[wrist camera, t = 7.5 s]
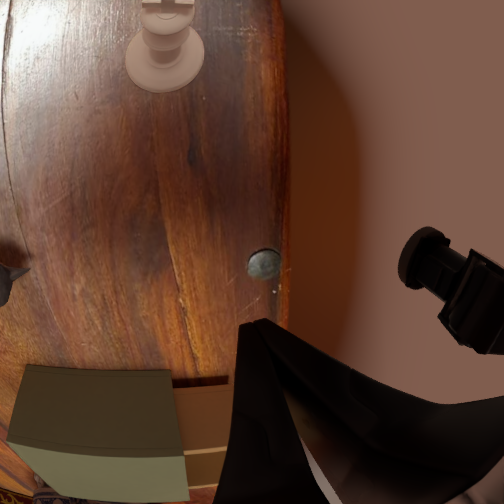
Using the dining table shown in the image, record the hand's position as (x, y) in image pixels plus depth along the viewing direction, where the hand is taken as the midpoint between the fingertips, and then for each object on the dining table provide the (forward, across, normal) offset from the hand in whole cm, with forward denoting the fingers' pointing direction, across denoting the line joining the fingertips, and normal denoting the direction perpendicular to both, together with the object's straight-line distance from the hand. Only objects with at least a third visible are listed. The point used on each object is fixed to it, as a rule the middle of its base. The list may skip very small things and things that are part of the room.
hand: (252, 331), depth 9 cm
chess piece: (+12, +1, -11) cm, 16 cm away
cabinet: (+12, +14, +18) cm, 26 cm away
